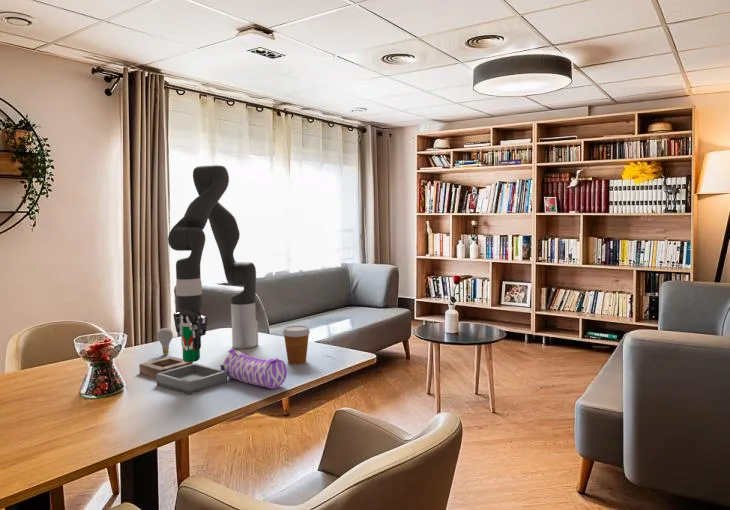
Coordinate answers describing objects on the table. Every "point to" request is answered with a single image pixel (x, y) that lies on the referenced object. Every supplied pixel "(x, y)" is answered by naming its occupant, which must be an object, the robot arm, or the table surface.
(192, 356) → the soda can
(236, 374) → the pencil case
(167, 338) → the light bulb
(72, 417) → the table surface
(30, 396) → the table surface
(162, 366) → the square wooden frame
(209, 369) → the tray
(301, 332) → the disposable coffee cup
